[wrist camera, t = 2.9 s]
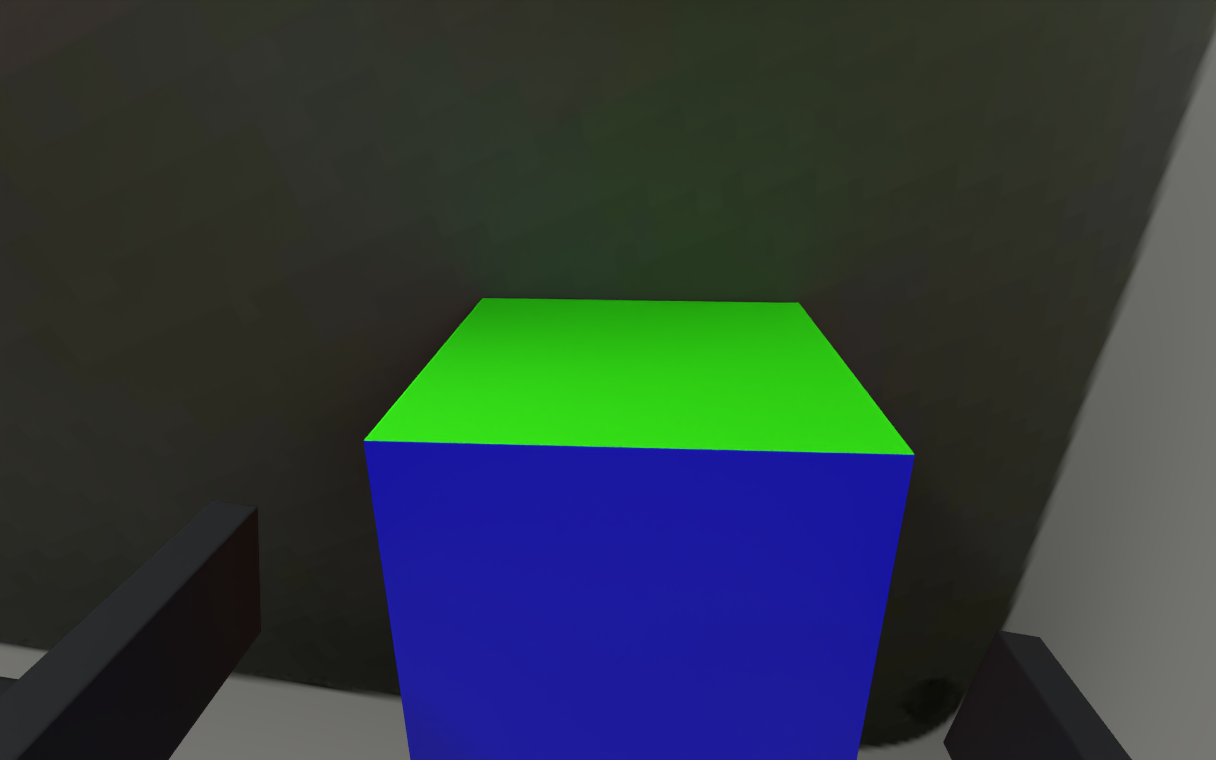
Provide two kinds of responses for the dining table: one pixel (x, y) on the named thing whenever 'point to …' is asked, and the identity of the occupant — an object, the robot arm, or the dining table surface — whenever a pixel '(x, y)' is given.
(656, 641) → the cube
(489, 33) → the dining table surface
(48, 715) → the robot arm
